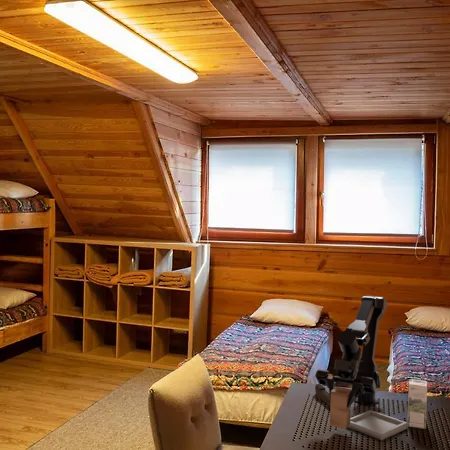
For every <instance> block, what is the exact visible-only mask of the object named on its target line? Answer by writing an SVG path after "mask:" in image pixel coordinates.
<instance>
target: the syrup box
mask: <svg viewBox="0 0 450 450" xmlns="http://www.w3.org/2000/svg"><path fill="white" fill-rule="evenodd" d="M407 396H408V397H407V399H408V401H407V428H414V429H422V430H426V428H427V403H428V401H427V400H428V382H427V380H421V379H412V378H411V379H408V395H407Z"/></svg>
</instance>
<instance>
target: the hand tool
mask: <svg viewBox="0 0 450 450" xmlns="http://www.w3.org/2000/svg"><path fill="white" fill-rule="evenodd" d="M314 392H315V395H316V397H317V398H318V399H319V398H321V399H320V400H322V401H323V402H324V403H326V404H327V405H328V406H329V407H330V394H329V391H327V390H326V387H325V386H324V385H321V384H319V383H317V384H315V387H314Z"/></svg>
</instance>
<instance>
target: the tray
mask: <svg viewBox="0 0 450 450" xmlns="http://www.w3.org/2000/svg"><path fill="white" fill-rule="evenodd" d="M348 427H349V429H351V430H354V431H356V432H359V433H362V434H363V435H364V434H365V435H367V436H370V437H372V438H375V439H377V440H380V441H384V440H386V439H388V438H391V437H393V436H394V435H397V434H398V433H401V432H403V431H404V430H405V431H406V429H408V421H404V420H402V419H401V420H400V419H398V418H395V417H392V416H389V415H386V414H384V413H380V412H378V411H374V410H371V409H369V410H366V411H365V412H364V411H363V412H362V413H360V414H357V415H355V416H354V415H353V417H350V424H349V426H348ZM348 427H347V428H348Z"/></svg>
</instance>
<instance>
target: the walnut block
mask: <svg viewBox="0 0 450 450" xmlns="http://www.w3.org/2000/svg"><path fill="white" fill-rule="evenodd" d="M351 390H352V388H344V387H341V386H340V387H338V386H336V387H335V388H334V389H333V390H332V391H331V404H330V406H329V407H330V408H329V409H330V410H329V411H330V413H329V426H330V427H334V428H338V429H343V430H346V429H347V428H348V426H349V424H350V418H351V411H352V409H351V407H352V405H351V406H350V407H349V408H347V403H348V399H349V396H350V393H351Z"/></svg>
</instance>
